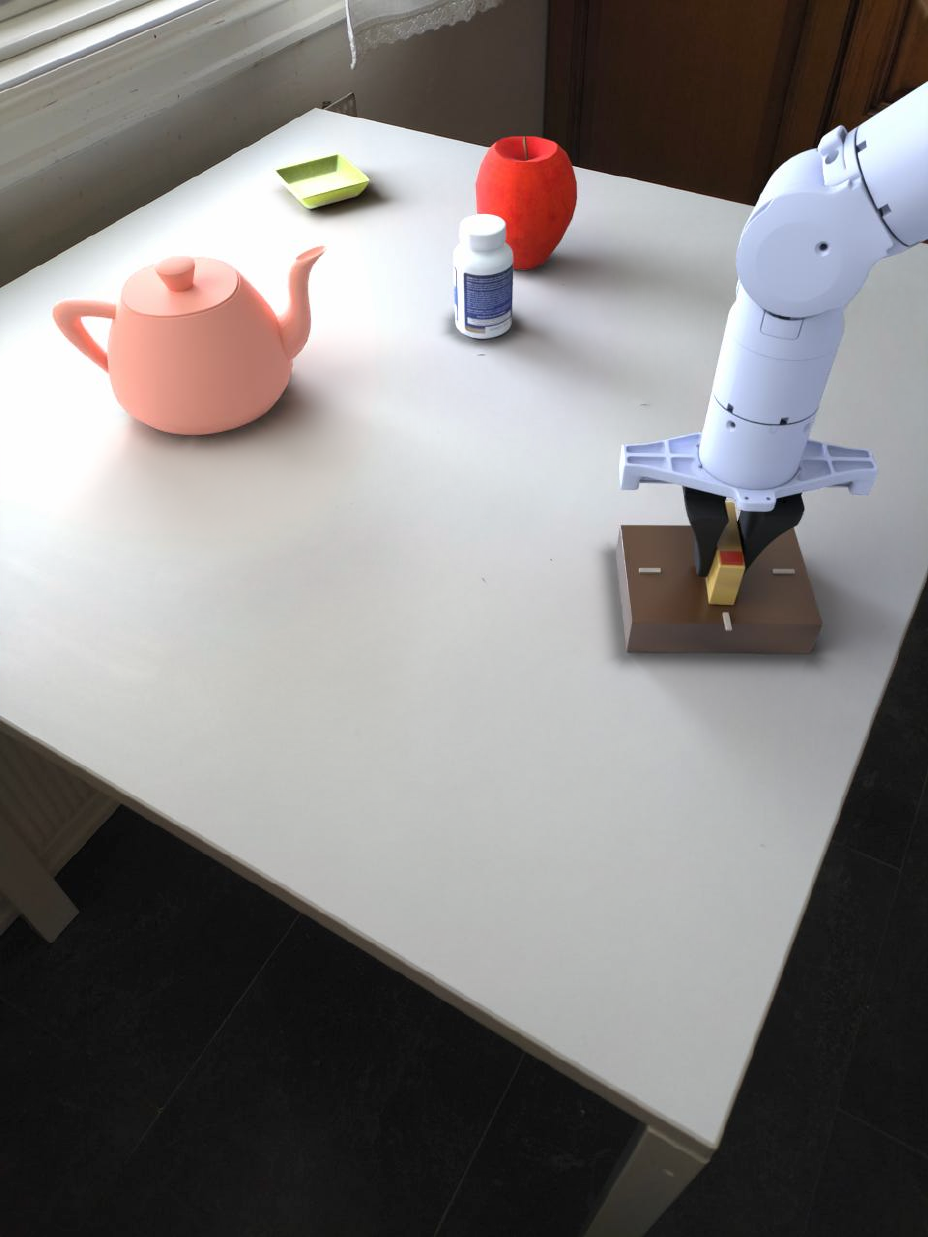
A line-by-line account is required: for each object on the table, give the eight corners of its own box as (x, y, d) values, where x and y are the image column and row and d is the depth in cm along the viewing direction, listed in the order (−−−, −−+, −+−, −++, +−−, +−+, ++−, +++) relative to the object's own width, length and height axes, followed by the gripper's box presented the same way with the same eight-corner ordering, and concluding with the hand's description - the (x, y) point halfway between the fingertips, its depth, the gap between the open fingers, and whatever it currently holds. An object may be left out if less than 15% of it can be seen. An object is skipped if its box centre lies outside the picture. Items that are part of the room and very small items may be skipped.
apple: (573, 239, 96) (582, 116, 87) (571, 287, 90) (580, 160, 80) (480, 236, 97) (479, 114, 87) (471, 283, 90) (469, 157, 81)
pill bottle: (523, 325, 85) (527, 224, 78) (481, 347, 83) (480, 245, 76) (485, 303, 88) (485, 203, 81) (443, 323, 86) (439, 223, 78)
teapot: (335, 331, 85) (316, 201, 76) (355, 428, 76) (336, 292, 66) (96, 362, 83) (46, 231, 73) (85, 466, 73) (26, 331, 64)
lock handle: (700, 539, 62) (710, 498, 59) (723, 540, 62) (735, 499, 59) (708, 604, 58) (720, 564, 55) (733, 605, 58) (746, 565, 55)
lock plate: (781, 550, 65) (792, 517, 63) (812, 661, 59) (826, 630, 56) (614, 548, 66) (619, 517, 63) (627, 659, 59) (633, 628, 57)
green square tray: (302, 217, 100) (299, 198, 99) (274, 187, 106) (271, 168, 104) (373, 198, 103) (371, 179, 102) (342, 170, 108) (340, 152, 107)
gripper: (637, 437, 47) (610, 608, 57) (922, 442, 46) (842, 615, 57) (628, 359, 52) (605, 531, 62) (887, 363, 51) (820, 536, 61)
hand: (717, 566), depth 60 cm, fingers closed on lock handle, 2 cm apart
